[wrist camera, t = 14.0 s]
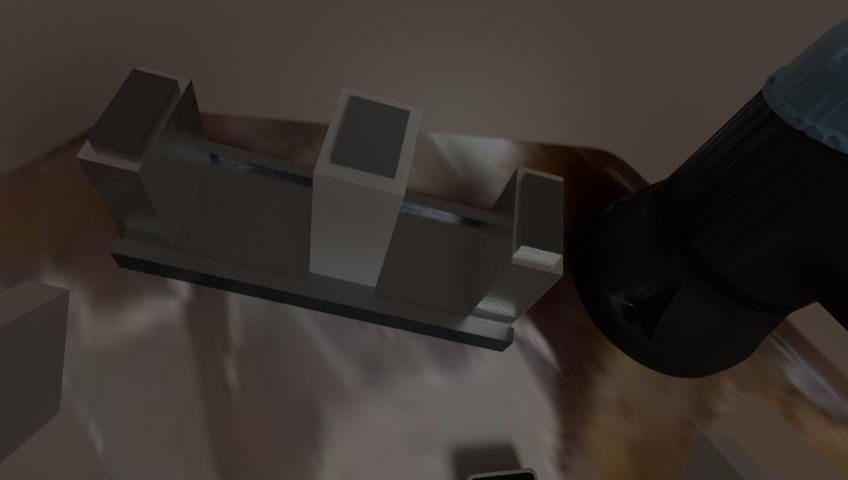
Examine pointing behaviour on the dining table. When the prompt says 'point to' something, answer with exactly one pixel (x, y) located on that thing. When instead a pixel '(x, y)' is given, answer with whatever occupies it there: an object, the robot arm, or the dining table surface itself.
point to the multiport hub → (504, 475)
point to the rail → (291, 226)
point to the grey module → (360, 185)
